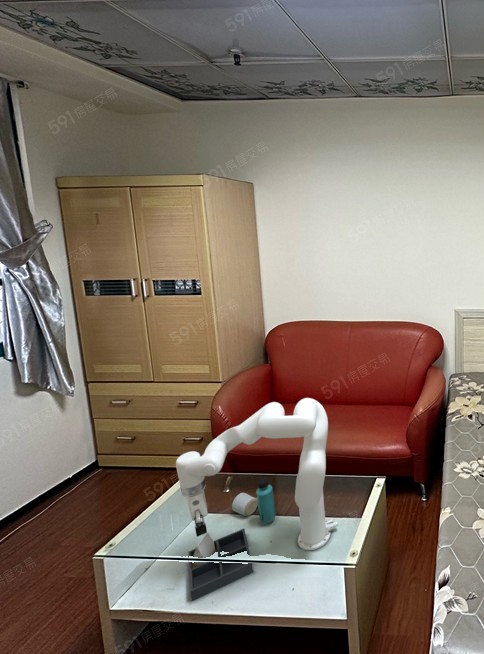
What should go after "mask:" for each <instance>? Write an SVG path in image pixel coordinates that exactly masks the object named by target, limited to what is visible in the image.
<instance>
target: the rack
mask: <svg viewBox="0 0 484 654" xmlns="http://www.w3.org/2000/svg"><path fill="white" fill-rule="evenodd" d="M213 541H214V546H215V552H218V557H226V556H232V555H235V554H237V553H241V552H244V551H247V554H248V555H250V556H251V552H250V548H249V543H248V539H247V534H246V529H245V528H241V529H239V530H237V531H234V532H231V533H230V534H229V533H228V534H227V535H224V536H221V537H220V538H217V539H215V540H213ZM195 550H196V548H194V549H191V550H189V551H188V552H187V555H188V556H193V555H194V553H195ZM222 551H224V552H229V553H227V554H224V555H222V556H221V554H220V552H222ZM253 567H254V566H253V562H252V563H248V564H242V563H222V562H219V563H214V562H206V563H204V564H201V565H199V566H197V567H195V564H194V563H192V562H189V561H188V575H189V593H190V598H191V602H195V601H196V600H198V599H200V598H202V597H204V596H206V595H208V594H210V593H211V594H212V593H213V592H214V591H217V590H219V589H221V588H223V587H226V586H228V585H229V584H231V583H234V582H236V581H238V580H240V579H242V578H245V577H246V576H249V575H251V574H253V573H254V568H253Z"/></svg>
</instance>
